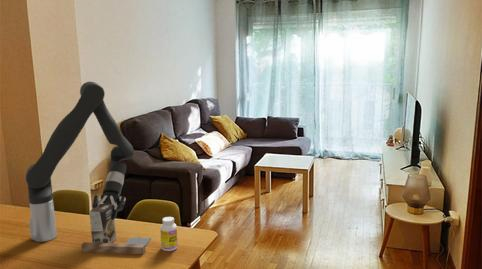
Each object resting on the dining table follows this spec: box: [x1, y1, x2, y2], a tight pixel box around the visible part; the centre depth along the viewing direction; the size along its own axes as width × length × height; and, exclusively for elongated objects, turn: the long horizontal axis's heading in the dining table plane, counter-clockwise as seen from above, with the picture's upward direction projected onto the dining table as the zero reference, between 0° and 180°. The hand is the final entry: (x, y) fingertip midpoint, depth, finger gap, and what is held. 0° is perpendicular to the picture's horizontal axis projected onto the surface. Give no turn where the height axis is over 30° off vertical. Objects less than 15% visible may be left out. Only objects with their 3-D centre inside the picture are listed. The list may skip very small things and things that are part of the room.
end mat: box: [125, 237, 152, 248], centre depth 168 cm, size 9×10×1 cm
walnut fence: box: [81, 241, 146, 255], centre depth 161 cm, size 26×2×3 cm, turn 84°
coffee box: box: [88, 203, 117, 243], centre depth 168 cm, size 9×6×16 cm
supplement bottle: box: [159, 216, 178, 252], centre depth 163 cm, size 7×7×13 cm
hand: (104, 218), depth 168 cm, fingers closed on coffee box, 6 cm apart
